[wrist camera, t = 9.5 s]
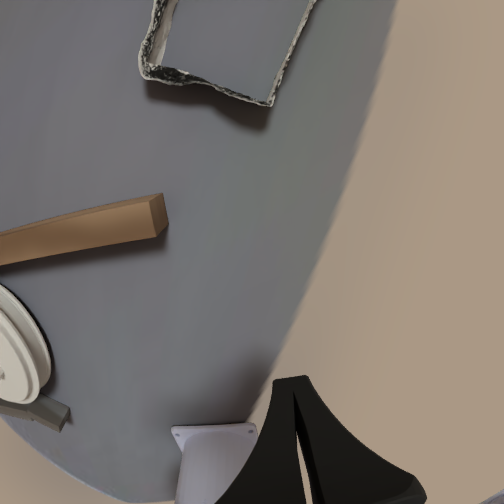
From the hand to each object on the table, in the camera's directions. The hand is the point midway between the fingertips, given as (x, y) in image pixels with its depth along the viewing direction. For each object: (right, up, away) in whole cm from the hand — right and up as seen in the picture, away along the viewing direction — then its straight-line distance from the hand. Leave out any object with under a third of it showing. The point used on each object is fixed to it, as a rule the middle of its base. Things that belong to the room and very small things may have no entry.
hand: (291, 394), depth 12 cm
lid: (-26, -2, +11) cm, 28 cm away
